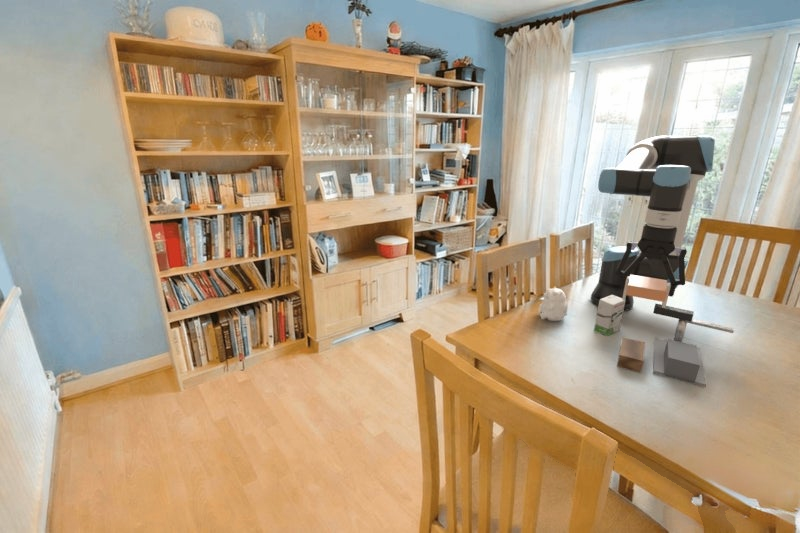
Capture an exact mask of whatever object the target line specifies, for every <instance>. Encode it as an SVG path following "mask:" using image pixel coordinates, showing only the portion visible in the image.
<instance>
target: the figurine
mask: <svg viewBox="0 0 800 533" xmlns="http://www.w3.org/2000/svg"><path fill="white" fill-rule="evenodd" d="M565 293H566V292H564V291H563V290H562V289H560V288H557V286H553V288H547V289H546V292H544V293H543V297H540V298H538V300H539V301H542V303H540V304H539V305H538V315H539V318H540V319H541V320H545V319H547V320H548V321H553V322H558V321H562V320H563V319H564V318H565V317H566V316H567V315H568V313H567V312H568V306H569V305H568V302H567V299H566V298H567V297H566V294H565Z"/></svg>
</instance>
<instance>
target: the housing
mask: <svg viewBox="0 0 800 533" xmlns="http://www.w3.org/2000/svg"><path fill="white" fill-rule="evenodd" d="M701 352H702V351H701V348H700V347H698V346H697V344H693V343H688V342H684V341H682V342H680V341H675V340H674V339H670V338H667V339H662V338H658V337H654V338H653V360H652V361H653V367H652V373H653V374H657V375H660V376H663V377H667V378H671V379H674V380H679V381H682V382H685V383H689V384H693V385H696V386H699V387H700V386H701V387H704V388H707V386H708V385H707V381H706V375H705V374H706V373H705V368H704V362H703V356H702V353H701Z"/></svg>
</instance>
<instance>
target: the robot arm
mask: <svg viewBox="0 0 800 533" xmlns="http://www.w3.org/2000/svg"><path fill="white" fill-rule="evenodd" d="M715 140H716V139H715V138H714V137H713V136H712V135H700V134H697V135H696V134H695V135H693V134H692V135H690V134H689V135H658V136H654V137H650V138H646V139H644V140H641V141H639V142H637V143H635V145H633V146H631V148H630V149H629V150H628V151H627V153H626V156H625V158H624V159H623V161H621V162H620V163H619V165H618V166H617V167H605V168H603V169H602V170H601V172H600V175H599V177H598V185H597V186H598V191H599V192H600V193H602V194H610V195H621V196H623V195H624V196H637V197H638V196H639V197H649V200H648V204H647V208H646V213H645V217H644V223H645V224H644V225H643V227H642V232H641V236H640V239H639V241H637V242H636V241H631V240H628V241H627V242H626V246H625V245H621V246H612V247H607V248H606V249H605V250H604V253H603V255H602V256H603V257H602V258H601V267H600V270H599V271H600V273H599V277H598V283H597V284H596V286H595V287H594V289H593V291H592V293H591V295H590V302H592V304H594V305H596V306H597V307H598V306H599V300H600V299H602V298H605V297H607V296H610V295H615V296H617V297H620V298H622V300H625V305H624V310H623V312H624V311H629V310H631V309H633V307H634V302H635V301H634V296H629V295H626V293H627V288H628V283H629V279H630V274H631V275H638V276H644V277H650V278H656V279H663V280H667V295H666V299H665V302H661V305H662V307H663V308H665V307H666V306H667V302H668V297H671V298H673V297H674V295H675V292H676V289H677V288H678V287H679V286H684V285H685V284H686V268H687V266H688V263H689V261H688V260H687V259H685V258H686V254H687V253H688V251H687V248H686V247H683V242H684V238H685V235H686V230H687V226H688V223H689V218H690V214H691V211H692V207H693V203H694V199H695V195H696V191H697V187H698V183H699V182H700V181H701V180H703V179H704V178H706V175H707V173H709V172H712V170H713V163H714V155H715V153H714V152H715V143H716V141H715ZM637 247H638V248H637Z"/></svg>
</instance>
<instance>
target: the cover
mask: <svg viewBox="0 0 800 533" xmlns="http://www.w3.org/2000/svg"><path fill="white" fill-rule="evenodd" d="M626 295H629V296H633V298H641V299H645V300H651V301H657V302H661V303H662V302H665V299H666V295H667V280H663V279H656V278H650V277H644V276H638V275H631V274H630V279H629V283H628V288H627V293H626Z"/></svg>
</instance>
